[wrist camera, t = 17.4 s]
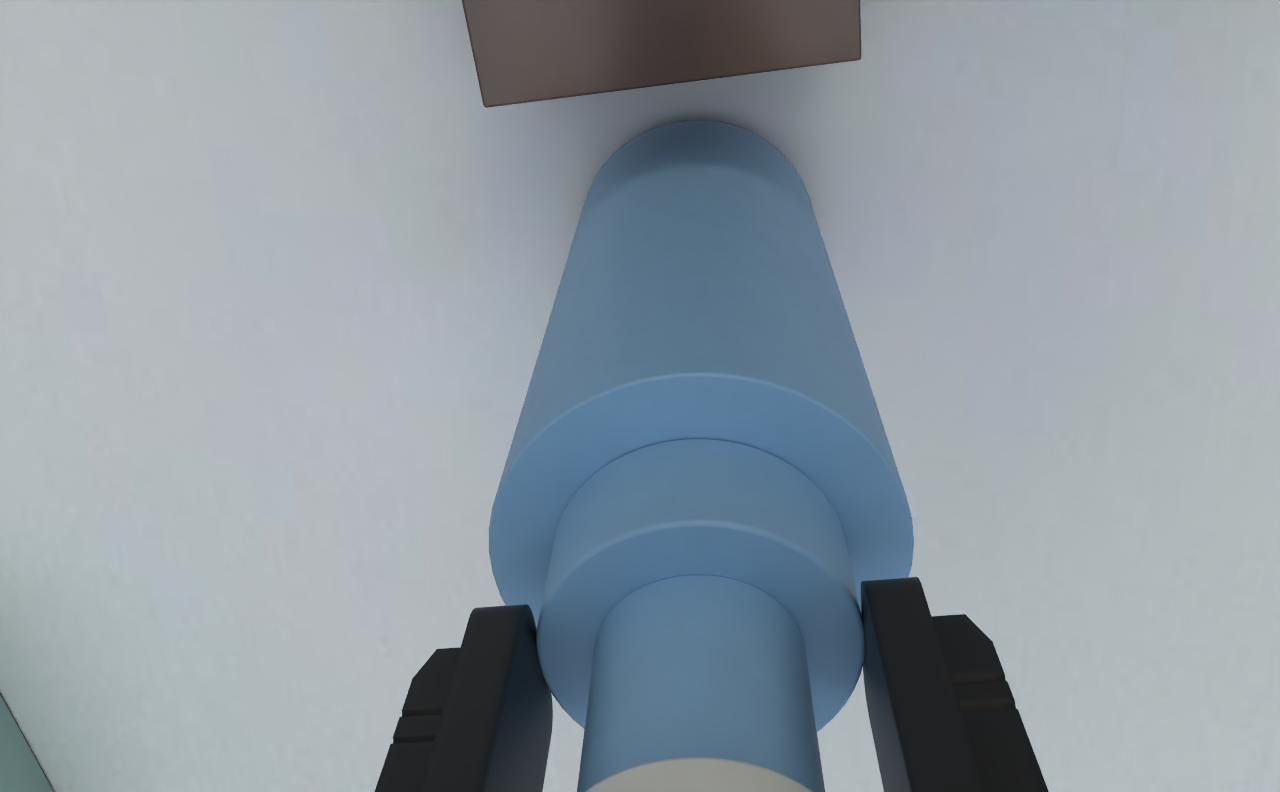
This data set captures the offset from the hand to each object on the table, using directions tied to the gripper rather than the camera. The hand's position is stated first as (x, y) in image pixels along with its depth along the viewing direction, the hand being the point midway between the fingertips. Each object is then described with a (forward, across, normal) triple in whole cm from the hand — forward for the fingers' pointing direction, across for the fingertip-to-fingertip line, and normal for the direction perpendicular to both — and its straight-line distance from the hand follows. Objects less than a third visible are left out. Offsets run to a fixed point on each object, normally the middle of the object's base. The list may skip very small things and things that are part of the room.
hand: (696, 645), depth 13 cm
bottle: (+13, 0, +6) cm, 14 cm away
